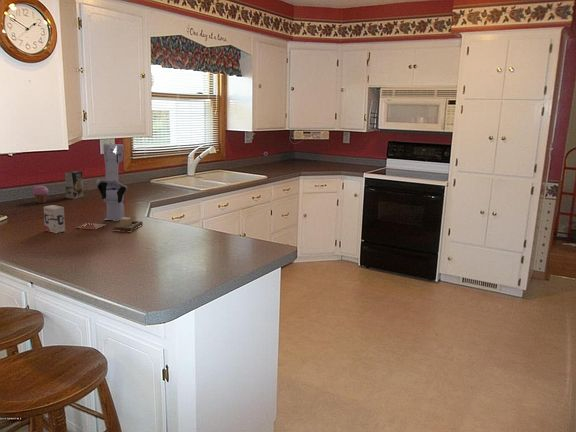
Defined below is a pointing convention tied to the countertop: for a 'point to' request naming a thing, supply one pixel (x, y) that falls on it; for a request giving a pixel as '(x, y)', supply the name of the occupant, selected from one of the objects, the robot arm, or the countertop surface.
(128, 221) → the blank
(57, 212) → the ink box
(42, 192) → the cupcake
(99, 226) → the plate
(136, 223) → the shelf bay
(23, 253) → the countertop surface
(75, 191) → the coffee box
